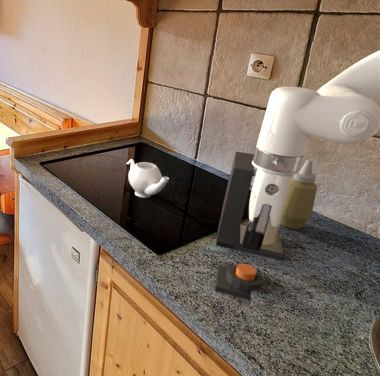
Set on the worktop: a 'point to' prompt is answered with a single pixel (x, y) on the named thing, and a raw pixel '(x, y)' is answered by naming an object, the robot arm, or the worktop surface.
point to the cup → (270, 233)
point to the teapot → (146, 179)
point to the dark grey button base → (236, 282)
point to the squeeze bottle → (300, 198)
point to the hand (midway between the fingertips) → (250, 247)
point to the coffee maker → (241, 210)
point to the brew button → (246, 272)
